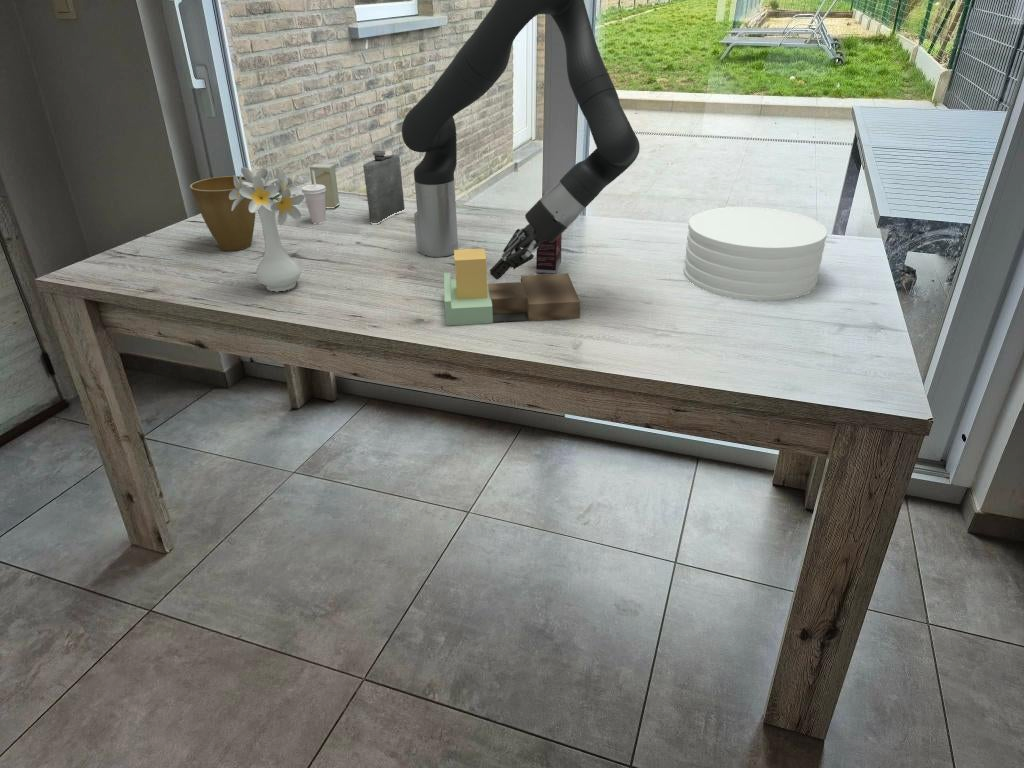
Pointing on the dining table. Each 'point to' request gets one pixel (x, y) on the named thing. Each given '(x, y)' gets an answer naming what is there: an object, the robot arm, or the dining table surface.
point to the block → (471, 273)
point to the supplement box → (548, 256)
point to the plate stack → (754, 252)
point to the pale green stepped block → (465, 306)
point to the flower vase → (271, 223)
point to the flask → (383, 186)
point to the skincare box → (326, 182)
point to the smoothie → (315, 201)
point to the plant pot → (224, 212)
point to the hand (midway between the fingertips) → (493, 275)
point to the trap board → (535, 299)
